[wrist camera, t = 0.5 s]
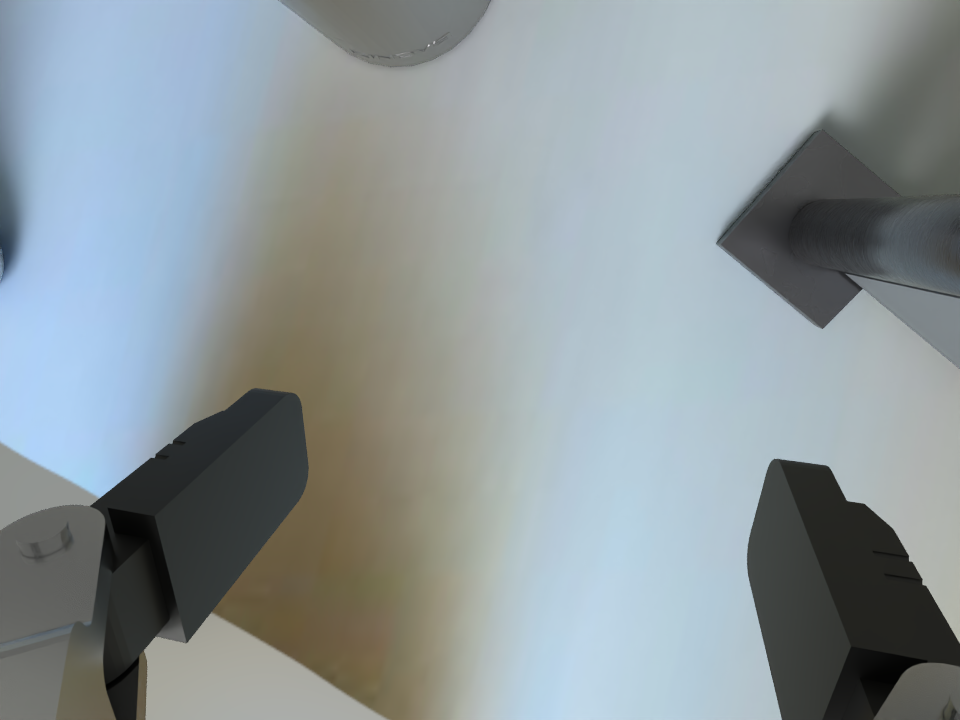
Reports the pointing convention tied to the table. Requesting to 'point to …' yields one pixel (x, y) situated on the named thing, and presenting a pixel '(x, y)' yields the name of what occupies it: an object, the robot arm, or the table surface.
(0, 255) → the plastic bottle
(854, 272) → the gate post
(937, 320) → the gate
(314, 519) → the table surface
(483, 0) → the robot arm
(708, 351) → the table surface
